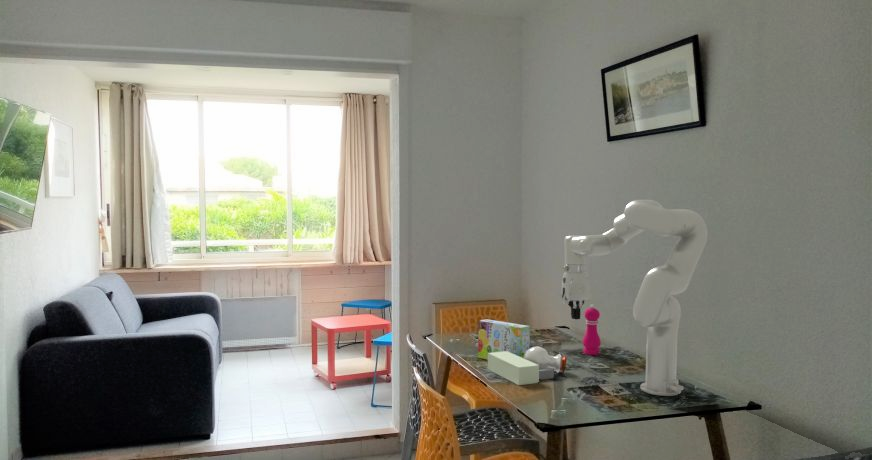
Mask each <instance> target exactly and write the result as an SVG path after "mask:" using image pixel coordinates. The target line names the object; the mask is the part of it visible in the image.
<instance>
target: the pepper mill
mask: <svg viewBox="0 0 872 460" xmlns="http://www.w3.org/2000/svg"><path fill="white" fill-rule="evenodd" d="M589 307H590V308H587V309H586V310H585V311H584V314H583V315H584V318H585V319H586V320H585V325H586V331H585V333H584V336H583V337H582V345H583V346H584V347H583V354H585V355H589V356H596V355H600V348H599V347H600V346H601V344H602V342H601V341H602V340H601V338H600V335H599V333H598V325H599V320H598V319H600V316H601V314H600V311H599V310H598V309H597V308H595V305H594V304H592V303H591V304H590V306H589Z"/></svg>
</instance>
